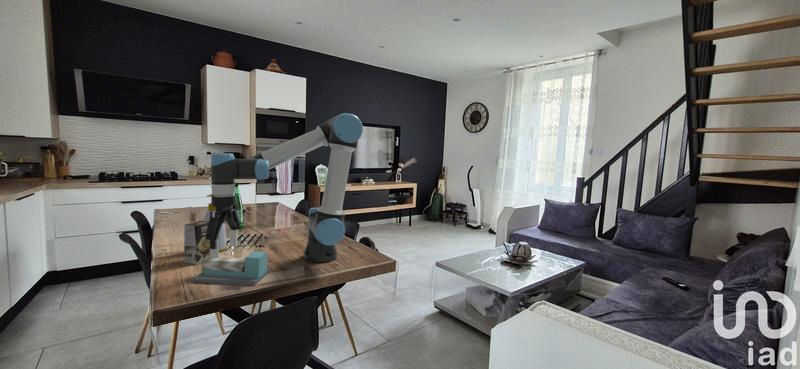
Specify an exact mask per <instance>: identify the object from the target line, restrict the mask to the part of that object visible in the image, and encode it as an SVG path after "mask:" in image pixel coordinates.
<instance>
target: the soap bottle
mask: <svg viewBox="0 0 800 369" xmlns="http://www.w3.org/2000/svg"><path fill="white" fill-rule="evenodd" d="M212 196H214V195H212V193H211V194H208V195H206V198H207V197H210V198H211V199H210V203H208V205H207V206H208V207H207V208H208V210H207V211H206V212H205V216H204V218H203V221H209V220H210V212H211V211H216V207H213V206H212ZM217 239H219V253H221V252H224V251H225V250H227V249H228V245H227V231H226V224H225V222H224V223H223V224H222V226H221V229H220V232H219V234H218V237H217Z"/></svg>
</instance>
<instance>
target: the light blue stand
mask: <svg viewBox="0 0 800 369" xmlns="http://www.w3.org/2000/svg"><path fill="white" fill-rule="evenodd" d="M244 259H245V272H230V271H212V270H205V271H204V273H202V272H201V273H199V274H197V275H195V276H194V277H193V278H192V279H193V280H192V282H193V283H201V284H202V283H205V284H216V285H217V284H220V285H237V286H256V285H257V284H259V282H261V281H262V280H263V279H264V278H265V277H266V276H267V275H269V273H270V272H271V267H268V252H267V251H257V250H256V251H253V252H251V253H249V254H247V256H245V258H244Z"/></svg>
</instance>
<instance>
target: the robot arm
mask: <svg viewBox="0 0 800 369" xmlns="http://www.w3.org/2000/svg"><path fill="white" fill-rule="evenodd" d="M363 126H364V125H363V123H362V121H361V120H360V118H359V117H358V116H356V115H355V114H353V113H348V112H343V113H340V114H339V115H338V114H337V115H335V116H333V117H331V118H330V119H328V120H326V121H325V122H323V123H321V124H318V125H317V126H316V128H315V129H314V130H311V131H309V132H306V133H304V134H302V135H300V136H297V137H295V138H292V139H290V140H288V141H286V142H284V143H281V144H279V145H275V146H274V147H272V148H269V149H267V150H265V151H261V152H260V153H258V154H255V155H253V156H250V157H247V158H236V157H235V155H234V153H227V152H225V153H223V152H221V153H220V152H218V153H217V152H214V153H213V154H211V157H210V158H211V160H210V173H211V174H210V176H211V177H210V178H211V180H210V182H211V185H210V188H211V194H212V195H214V196H212V206H213V207H216V211H211V212H210V220H209V224H208V228H207V232H206V236H205V239H206V240H210V258H218V257H220V255H219V254H220V252H219V239H217V237H218V234H219V232H220V229H221V226H222V224H223V223H224V224H225V222H226V223H227V225H228V227H229V229H228V231H229V236H228V238H229V239H228V240H229V247H234V248H235V247H236V248H237V247H238V230H240V229H241V223H240V219H239V216H238V212H237V206H236V205H235V204H236V196H235V194H236V186H235V185H236V184H235V180H267V179H269V177H270V170H271V169H273V168H275V167H278V166H281V165H282V164H285V163H287V162H289V161H292V160H294V159H296V158H298V157H301V156H303V155H305V154H307V153H309V152H312V151H314V150H316V149H318V148H320V147H322V146H324V147H330V148H331V149H330V154H329V161H328V166H327V171H326V172H327V173H326V177H325V183H324V188H323V196H322V201H321V205H320V206H319V207H310V208H309V209H308V215H307V216H308V219H307V220H308V222H307V223H308V226H307V242H306V245H305V247H304V251H303V254H302V255H303V259H304V260H306V261H307V262H310V263H311V262H312V263H327V262H328V261H329V262H332V261H334V259H335V260H336V259H337V258H338V249H337V247H336V244H338V243H340V242H341V241H342V240H343V238H344V236H345V233H346V228H345V224H344V221H345V216H346V213H345V211H344V209H343V206H344V200H345V194H346V189H347V185H348V178H349V171H350V166H351V160H352V154H353V152H355V151H356V150H357V148H358V143H359V142H358V141H359V140H360V139H361V137H362V135H363V132H364V127H363Z"/></svg>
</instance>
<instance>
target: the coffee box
mask: <svg viewBox="0 0 800 369" xmlns="http://www.w3.org/2000/svg"><path fill="white" fill-rule="evenodd" d="M208 224H209V221H204V220H198V221H194V222H191V223H186V224H184V228H183V230H184V231H183V232H184V234H183V235H184V236H183V237H184V240H183V242H184V244H183V248H184V250H183V253H184V255H183V258H184V259H183V261H184V262H183V263H184V264H192V265H200V264H202V259H204V258H206V257H210V240H206V239H205V236H206V232H207V228H208Z"/></svg>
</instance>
